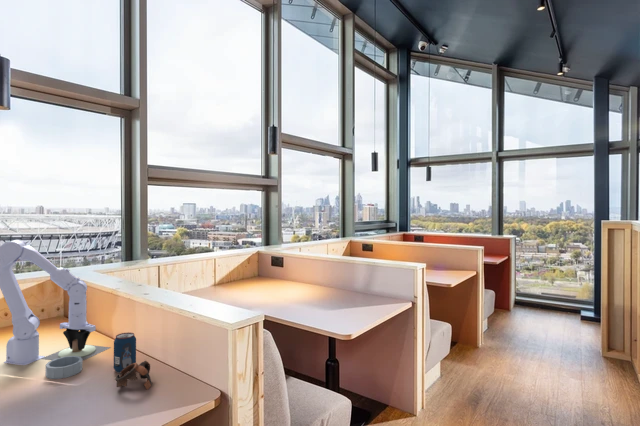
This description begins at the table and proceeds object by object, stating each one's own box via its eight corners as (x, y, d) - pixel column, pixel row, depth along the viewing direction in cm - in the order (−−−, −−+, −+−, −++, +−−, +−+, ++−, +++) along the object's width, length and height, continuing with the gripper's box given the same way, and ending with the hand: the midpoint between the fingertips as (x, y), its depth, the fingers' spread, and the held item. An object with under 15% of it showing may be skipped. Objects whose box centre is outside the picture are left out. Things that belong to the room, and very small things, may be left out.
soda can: (125, 364, 136) (125, 330, 136) (140, 367, 134) (140, 333, 134) (108, 371, 129) (109, 336, 129) (124, 375, 127) (124, 339, 127)
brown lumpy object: (145, 396, 114) (130, 375, 113) (120, 406, 116) (105, 386, 114) (163, 369, 126) (150, 350, 124) (140, 379, 128) (127, 360, 126)
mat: (40, 360, 138) (40, 358, 138) (77, 344, 154) (77, 343, 154) (76, 364, 135) (77, 363, 135) (111, 348, 150) (111, 347, 150)
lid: (50, 357, 140) (50, 344, 140) (77, 345, 152) (77, 333, 151) (77, 360, 137) (77, 347, 137) (102, 348, 149) (103, 336, 149)
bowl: (38, 378, 124) (38, 366, 124) (65, 366, 134) (65, 354, 133) (63, 381, 122) (63, 369, 122) (88, 369, 131) (88, 357, 131)
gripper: (101, 311, 146) (101, 346, 147) (70, 309, 150) (70, 343, 150) (87, 316, 140) (86, 353, 140) (54, 313, 143) (54, 349, 143)
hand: (77, 348), depth 144 cm, fingers closed on lid, 3 cm apart
